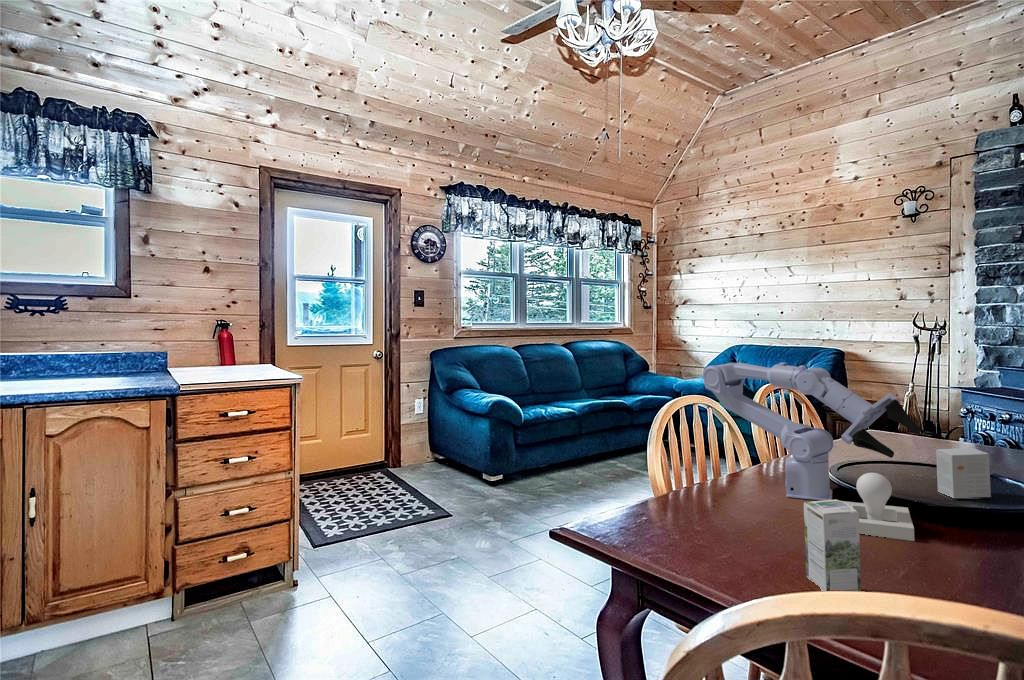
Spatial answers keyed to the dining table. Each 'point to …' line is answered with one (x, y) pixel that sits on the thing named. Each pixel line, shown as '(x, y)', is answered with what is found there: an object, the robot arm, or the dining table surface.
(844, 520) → the syrup box
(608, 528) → the dining table surface
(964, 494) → the small box
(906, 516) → the white shallow tray
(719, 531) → the dining table surface
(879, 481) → the lightbulb
